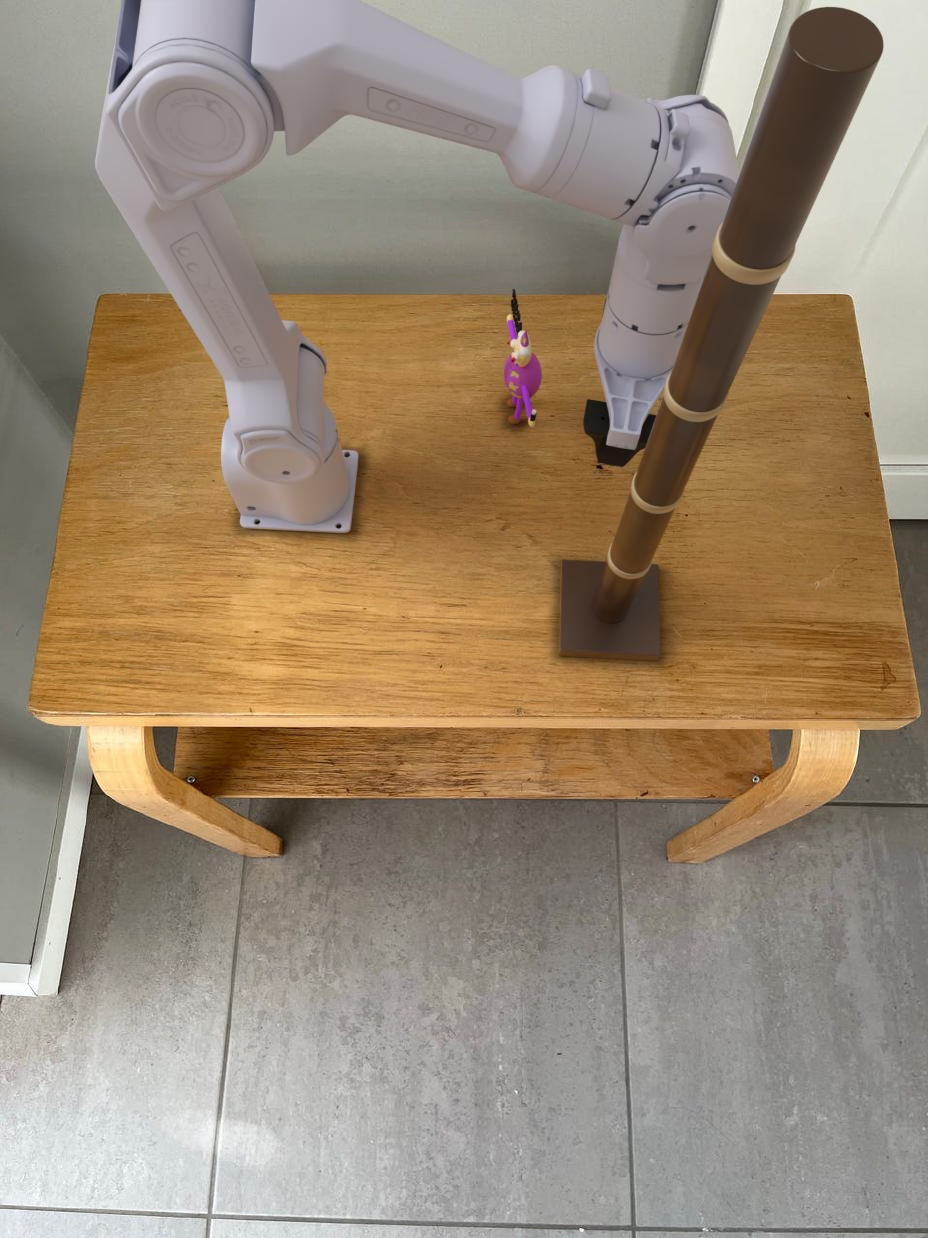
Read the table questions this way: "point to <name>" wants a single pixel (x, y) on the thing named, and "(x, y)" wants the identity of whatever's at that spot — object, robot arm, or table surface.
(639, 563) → the measuring staff
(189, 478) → the table surface
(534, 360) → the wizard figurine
